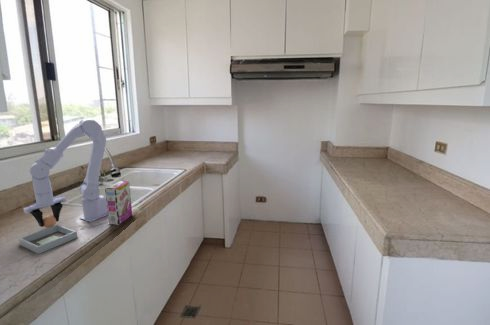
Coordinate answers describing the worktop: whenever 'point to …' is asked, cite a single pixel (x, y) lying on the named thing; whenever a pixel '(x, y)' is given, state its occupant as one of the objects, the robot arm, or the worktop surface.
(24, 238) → the grey shallow square tray
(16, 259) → the worktop surface
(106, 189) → the candy bar box
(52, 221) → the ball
